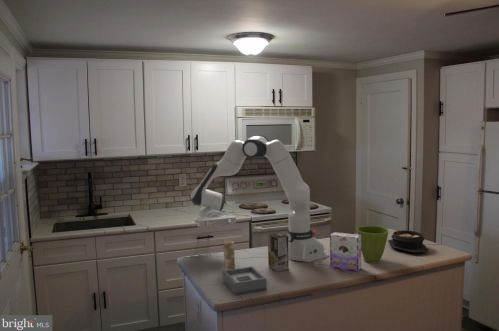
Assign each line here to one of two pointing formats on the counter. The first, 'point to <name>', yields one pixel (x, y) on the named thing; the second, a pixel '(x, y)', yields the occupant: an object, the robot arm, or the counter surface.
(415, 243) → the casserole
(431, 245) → the counter surface
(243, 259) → the counter surface
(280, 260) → the coffee box
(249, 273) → the box
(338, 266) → the candy box
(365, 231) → the flower pot
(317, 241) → the robot arm
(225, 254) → the peg
